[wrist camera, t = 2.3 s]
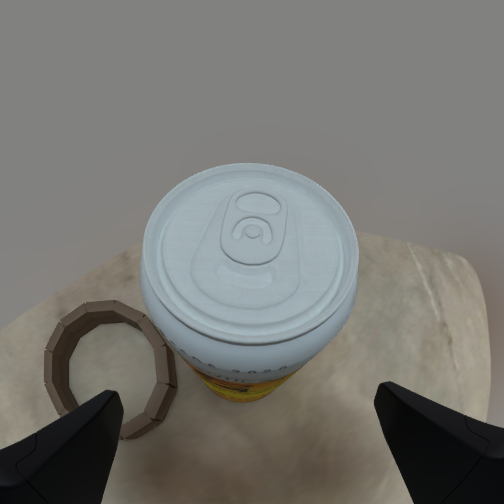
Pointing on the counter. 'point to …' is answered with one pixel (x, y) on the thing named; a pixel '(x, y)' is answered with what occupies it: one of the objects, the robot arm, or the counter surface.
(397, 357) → the counter surface
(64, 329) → the collar
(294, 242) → the beer can
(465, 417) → the robot arm
